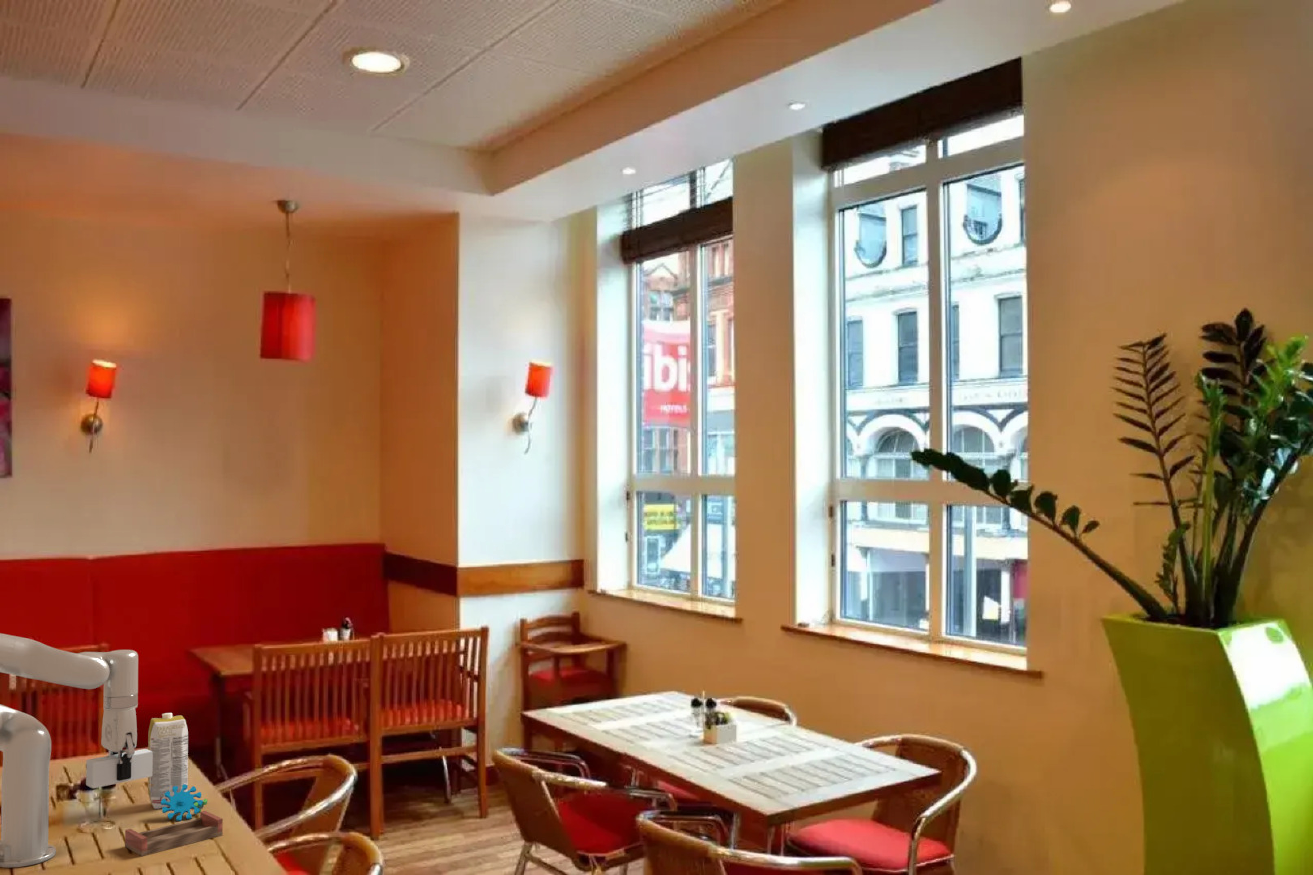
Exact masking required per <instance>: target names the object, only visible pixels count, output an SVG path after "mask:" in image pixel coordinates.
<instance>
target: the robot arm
mask: <svg viewBox="0 0 1313 875" xmlns="http://www.w3.org/2000/svg"><path fill="white" fill-rule="evenodd" d="M0 673H2V674H3V673H4V674H8V675H11V676H12V675H13V676H18V677H22V678H26V679H32V680H38V681H43V682H47V683H52V684H56V685H62V686H68V687H72V688H77V689H86V690H93V689H96V688H99V687H102V686H103V716H102V725H101V740H100V742H101V746H102V747H103V748H104V749H106V750H107V752H108V755H107V756H110V755H115V754H118V763H119V764H117V780H118V781H121V780H125V779H130V778H131V762H132V756H133V755H134V753H135V751H136V750H135V749H136V747H137V741H138V732H137V731H138V728H137V727H138V726H137V715H136V714H137V712H136V709H137V708H138V705H139V701H138V700H139V696H138V695H139V654H138V652H137V651H135V650H133V649H116V650H111V651H107V652H105V651H101V652H99V651H83V652H82V651H81V652H79V653H75V652H72V651H71V652H70V651H67V650H61V649H58V648H55V647H52V646H50V645H47V644H44V643H42V642H40V641H37V640H34V639H31V638H26V637H22V636H16V635H11V634H6V633H1V632H0ZM123 748H126V749H123ZM0 752H2V757H3V758H2V770H1V813H0V814H1V816H0V817H1V821H0V822H1V824H0V825H1V827H0V830H1V832H0V836H1V839H0V868H7V869H9V868H20V867H21V868H22V867H27V866H28V867H29V866H32V865H37V864H41V863H43V862H46V861H48V860H50V859H51V858H53V857H54V856H55V855H56V853H57V850H56V849H57V848H56V846H54V845H51V844H49V810H50V807H49V805H50V804H49V802H50V801H49V797H50V796H49V795H50V782H49V781H50V762H51V753H52V739H51V735H50V733H49V730H48V729H47V727H46V726H45V725H44V724H43V723H42V722H41V721H39V720H38V719H37V718H35V717H34V716H32V715H30V714H28V713H25V712H22V711H20V710H17V709H14V708H11V707H9V706H6V705H4V704H0ZM122 753H126V754H124V755H123V757H122Z"/></svg>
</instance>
